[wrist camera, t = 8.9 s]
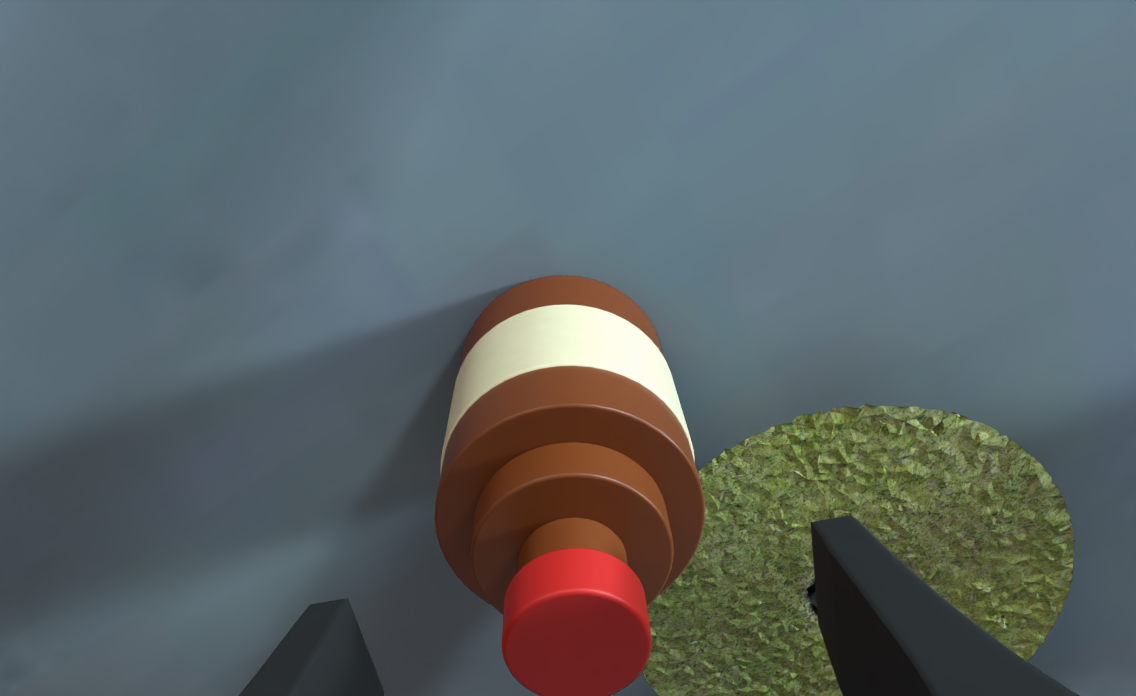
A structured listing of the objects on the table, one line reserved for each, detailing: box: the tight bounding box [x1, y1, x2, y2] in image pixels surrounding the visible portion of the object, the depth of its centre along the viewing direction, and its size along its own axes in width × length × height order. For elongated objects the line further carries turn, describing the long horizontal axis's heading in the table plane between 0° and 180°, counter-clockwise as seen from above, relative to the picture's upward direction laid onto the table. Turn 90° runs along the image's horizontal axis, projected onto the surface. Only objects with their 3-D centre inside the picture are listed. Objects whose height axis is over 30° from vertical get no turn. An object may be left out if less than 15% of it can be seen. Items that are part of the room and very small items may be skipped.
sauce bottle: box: [435, 276, 705, 696], centre depth 16 cm, size 5×5×9 cm
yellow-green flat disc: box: [643, 404, 1075, 696], centre depth 22 cm, size 11×11×2 cm
